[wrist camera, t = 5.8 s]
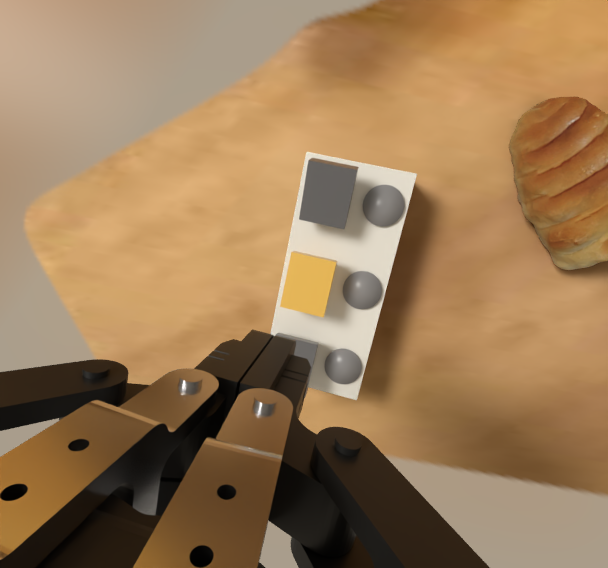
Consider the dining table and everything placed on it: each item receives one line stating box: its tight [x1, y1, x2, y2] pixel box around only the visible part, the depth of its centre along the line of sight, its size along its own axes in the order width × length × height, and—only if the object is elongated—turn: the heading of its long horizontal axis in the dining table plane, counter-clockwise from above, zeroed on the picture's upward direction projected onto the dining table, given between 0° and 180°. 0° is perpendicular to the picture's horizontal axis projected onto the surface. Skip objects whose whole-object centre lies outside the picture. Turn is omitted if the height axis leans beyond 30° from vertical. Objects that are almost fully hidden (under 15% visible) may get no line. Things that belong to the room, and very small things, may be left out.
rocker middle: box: [280, 251, 337, 318], centre depth 21 cm, size 2×3×2 cm
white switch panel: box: [271, 152, 417, 400], centre depth 23 cm, size 6×14×4 cm, turn 168°
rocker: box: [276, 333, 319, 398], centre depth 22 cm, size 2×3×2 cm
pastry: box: [509, 97, 608, 270], centre depth 20 cm, size 9×7×4 cm
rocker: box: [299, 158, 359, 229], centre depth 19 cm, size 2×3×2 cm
